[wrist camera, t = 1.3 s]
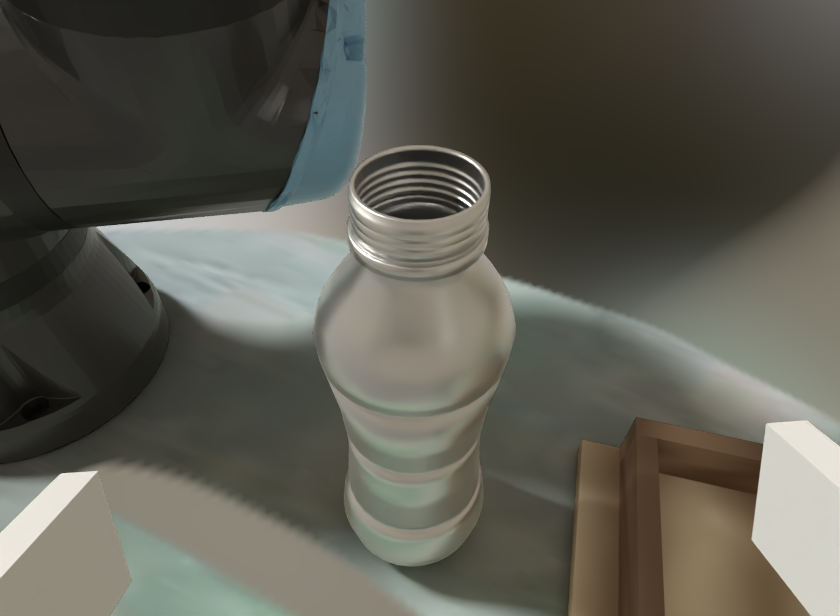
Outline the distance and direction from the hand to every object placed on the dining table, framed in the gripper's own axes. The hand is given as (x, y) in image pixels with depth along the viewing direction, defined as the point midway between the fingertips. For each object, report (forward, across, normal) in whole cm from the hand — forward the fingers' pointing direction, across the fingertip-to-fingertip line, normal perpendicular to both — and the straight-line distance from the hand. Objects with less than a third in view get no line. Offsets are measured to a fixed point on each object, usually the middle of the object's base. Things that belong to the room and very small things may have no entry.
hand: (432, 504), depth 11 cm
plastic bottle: (+15, -2, -12) cm, 19 cm away
